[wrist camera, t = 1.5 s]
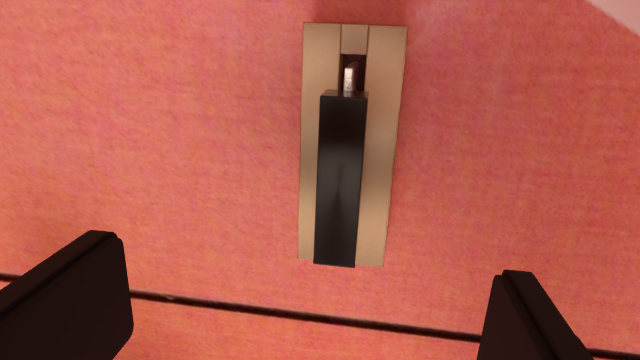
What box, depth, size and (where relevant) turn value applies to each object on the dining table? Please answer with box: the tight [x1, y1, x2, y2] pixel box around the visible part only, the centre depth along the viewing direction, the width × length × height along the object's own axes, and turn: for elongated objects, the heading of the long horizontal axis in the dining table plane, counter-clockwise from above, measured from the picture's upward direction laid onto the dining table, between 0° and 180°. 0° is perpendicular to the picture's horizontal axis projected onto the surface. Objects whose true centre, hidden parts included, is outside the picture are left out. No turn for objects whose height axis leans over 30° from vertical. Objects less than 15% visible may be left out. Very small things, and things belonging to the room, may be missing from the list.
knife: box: [313, 62, 369, 268], centre depth 22 cm, size 10×2×8 cm, turn 178°
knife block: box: [297, 22, 408, 267], centre depth 25 cm, size 14×5×3 cm, turn 178°
